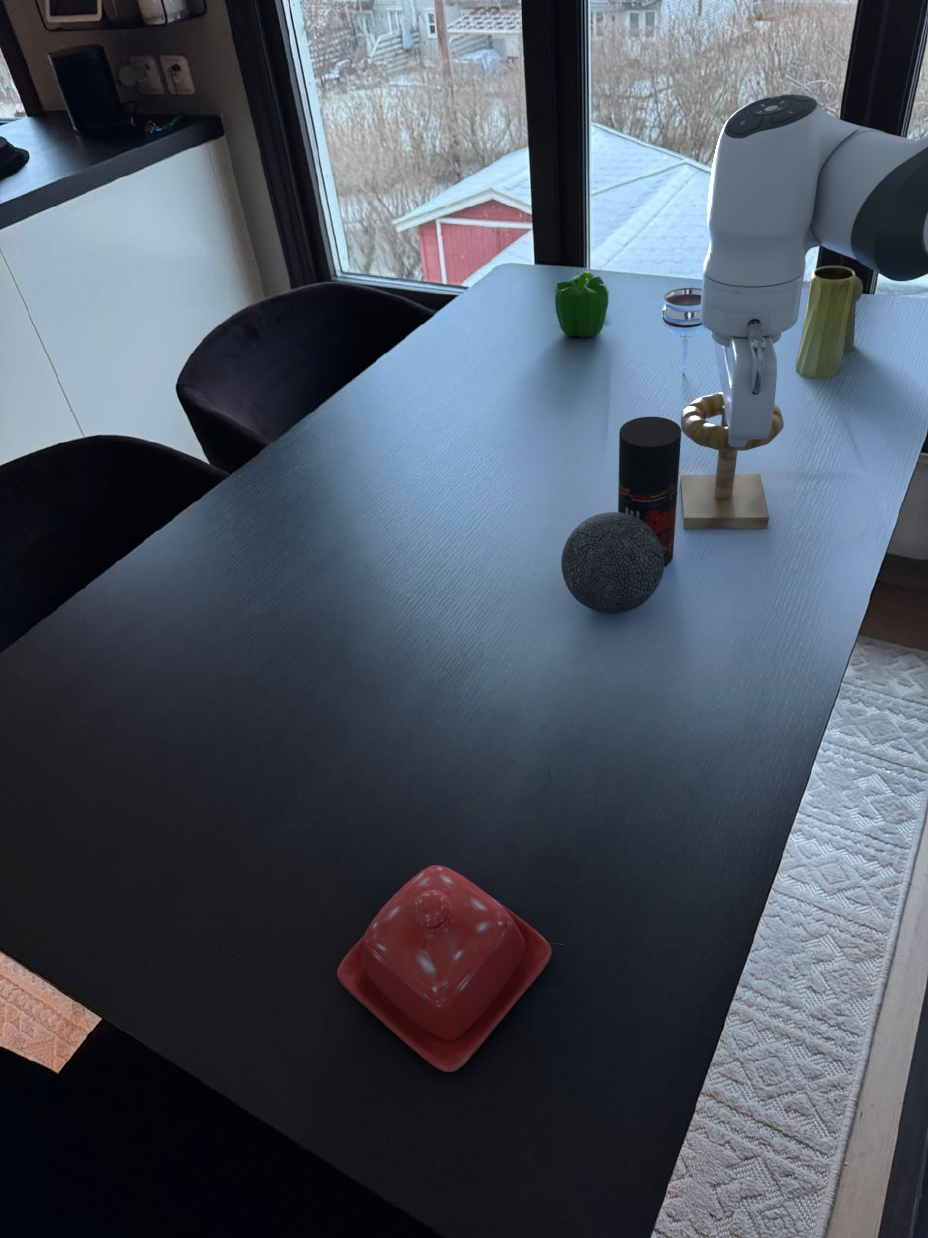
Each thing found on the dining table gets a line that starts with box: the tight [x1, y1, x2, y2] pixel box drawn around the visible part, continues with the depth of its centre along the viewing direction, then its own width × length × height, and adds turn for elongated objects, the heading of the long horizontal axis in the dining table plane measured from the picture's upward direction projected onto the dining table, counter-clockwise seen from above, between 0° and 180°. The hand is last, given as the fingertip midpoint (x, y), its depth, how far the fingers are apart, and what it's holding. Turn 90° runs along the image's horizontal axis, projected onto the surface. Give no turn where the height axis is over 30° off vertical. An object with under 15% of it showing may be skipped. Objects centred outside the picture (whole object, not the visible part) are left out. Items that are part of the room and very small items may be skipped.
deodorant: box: [617, 416, 682, 568], centre depth 91 cm, size 6×6×15 cm
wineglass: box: [661, 286, 707, 375], centre depth 121 cm, size 7×7×12 cm
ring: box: [680, 392, 785, 452], centre depth 94 cm, size 10×10×2 cm
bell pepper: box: [554, 270, 610, 338], centre depth 138 cm, size 8×8×10 cm
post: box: [679, 406, 770, 530], centre depth 97 cm, size 9×9×12 cm
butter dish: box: [336, 864, 553, 1073], centre depth 59 cm, size 12×12×8 cm
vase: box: [794, 265, 856, 379], centre depth 118 cm, size 6×6×14 cm
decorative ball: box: [560, 511, 665, 614], centre depth 87 cm, size 10×10×10 cm
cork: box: [843, 275, 864, 355], centre depth 123 cm, size 6×6×11 cm
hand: (735, 434), depth 91 cm, fingers closed on ring, 2 cm apart
